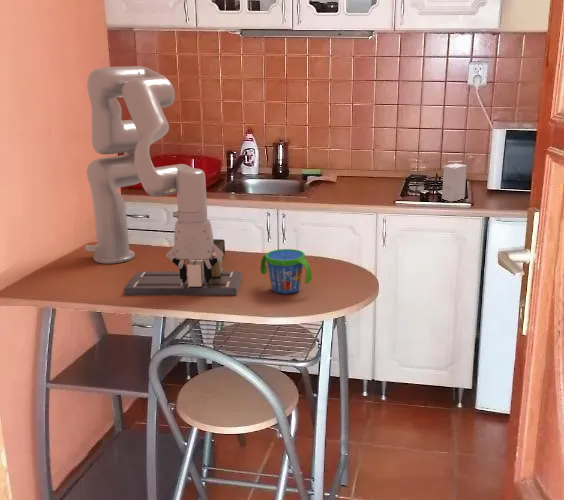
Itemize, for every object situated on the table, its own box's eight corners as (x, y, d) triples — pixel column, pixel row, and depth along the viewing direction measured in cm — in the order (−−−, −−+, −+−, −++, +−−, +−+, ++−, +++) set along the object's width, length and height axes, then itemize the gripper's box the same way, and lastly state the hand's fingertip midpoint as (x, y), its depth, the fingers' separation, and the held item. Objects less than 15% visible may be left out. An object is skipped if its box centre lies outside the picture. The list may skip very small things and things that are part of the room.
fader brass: (207, 276, 189) (206, 255, 187) (210, 270, 194) (209, 250, 192) (220, 276, 189) (219, 255, 187) (222, 270, 194) (221, 250, 192)
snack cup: (251, 288, 186) (250, 253, 183) (278, 279, 193) (277, 244, 190) (294, 302, 176) (293, 264, 173) (320, 291, 183) (320, 255, 180)
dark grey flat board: (124, 295, 183) (123, 287, 182) (137, 278, 196) (136, 271, 195) (236, 295, 181) (236, 287, 181) (241, 277, 195) (241, 270, 194)
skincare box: (453, 197, 290) (455, 162, 285) (465, 200, 285) (467, 164, 281) (441, 200, 285) (442, 165, 280) (452, 203, 280) (455, 167, 276)
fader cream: (188, 286, 182) (187, 264, 180) (191, 280, 186) (190, 259, 185) (201, 286, 182) (200, 264, 180) (204, 280, 186) (203, 258, 185)
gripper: (157, 220, 175) (161, 286, 181) (223, 219, 175) (226, 286, 180) (163, 213, 183) (167, 276, 188) (227, 212, 182) (229, 276, 187)
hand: (196, 280), depth 184 cm, fingers open, 5 cm apart
